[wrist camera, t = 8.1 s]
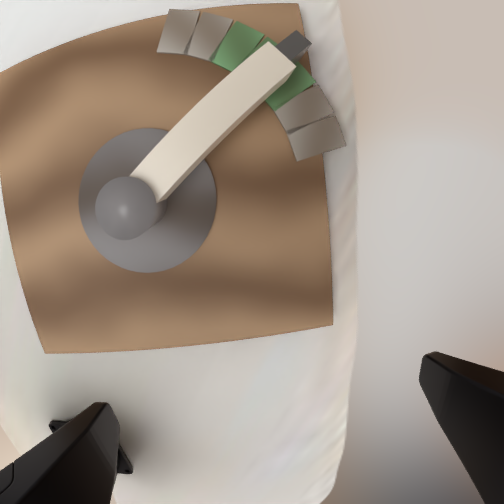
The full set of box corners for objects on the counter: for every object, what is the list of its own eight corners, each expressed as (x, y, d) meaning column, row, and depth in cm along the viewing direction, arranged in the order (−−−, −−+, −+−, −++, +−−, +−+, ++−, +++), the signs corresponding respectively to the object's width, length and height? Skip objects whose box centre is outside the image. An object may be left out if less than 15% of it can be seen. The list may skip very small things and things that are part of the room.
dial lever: (143, 238, 17) (126, 253, 14) (107, 204, 16) (84, 211, 13) (311, 71, 15) (329, 52, 12) (274, 37, 15) (284, 12, 12)
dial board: (347, 313, 21) (354, 322, 19) (51, 345, 20) (43, 354, 18) (314, 9, 16) (320, -1, 14) (7, 73, 15) (-3, 69, 13)
